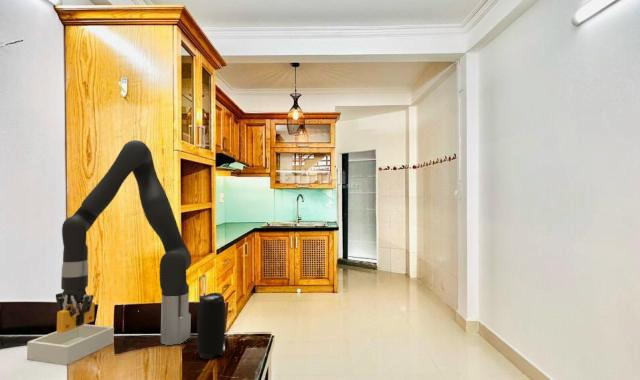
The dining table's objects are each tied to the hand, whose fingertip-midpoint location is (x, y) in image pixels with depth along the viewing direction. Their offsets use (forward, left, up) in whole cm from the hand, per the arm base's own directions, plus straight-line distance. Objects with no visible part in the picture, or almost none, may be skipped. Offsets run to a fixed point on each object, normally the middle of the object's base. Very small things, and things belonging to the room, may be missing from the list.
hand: (73, 324), depth 121 cm
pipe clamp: (0, 0, -1) cm, 1 cm away
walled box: (0, 0, -9) cm, 9 cm away
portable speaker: (-47, -9, -9) cm, 49 cm away
